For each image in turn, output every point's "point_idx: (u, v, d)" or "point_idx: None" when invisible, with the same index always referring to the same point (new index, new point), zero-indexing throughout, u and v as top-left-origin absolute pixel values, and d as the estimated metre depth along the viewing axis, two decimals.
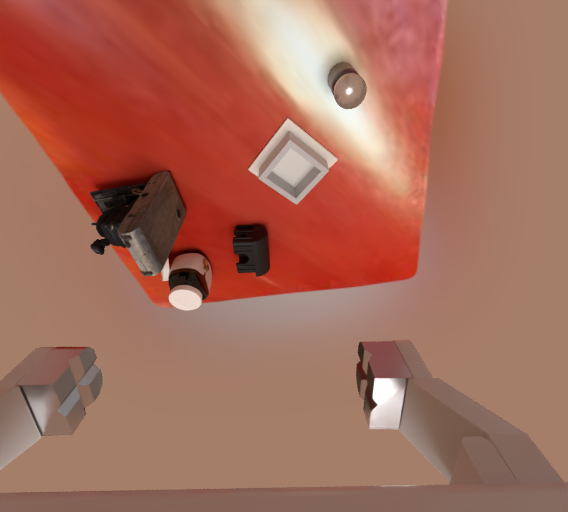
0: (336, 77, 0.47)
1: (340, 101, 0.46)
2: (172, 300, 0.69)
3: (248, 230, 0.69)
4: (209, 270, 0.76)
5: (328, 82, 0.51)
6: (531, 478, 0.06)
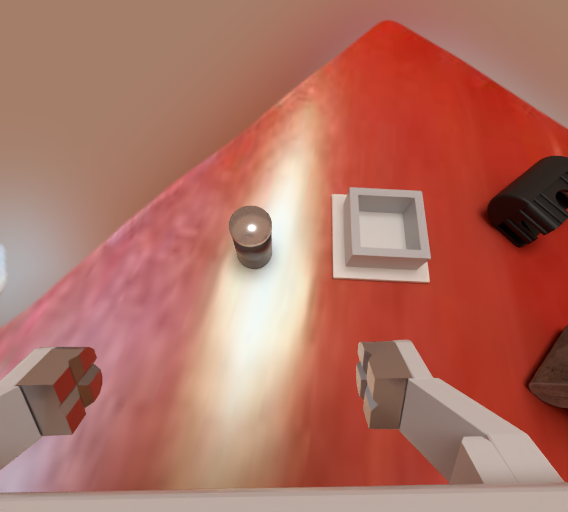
0: (250, 252, 0.36)
1: (266, 227, 0.34)
2: None
3: (511, 225, 0.41)
4: None
5: (267, 261, 0.40)
6: (531, 478, 0.06)
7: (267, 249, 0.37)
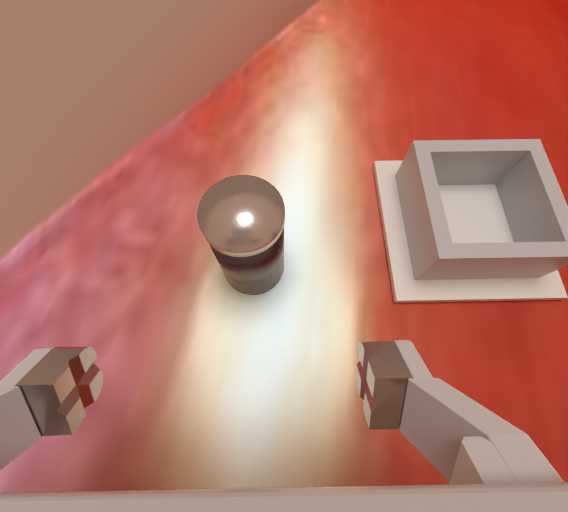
0: (246, 268, 0.18)
1: (275, 215, 0.17)
2: None
3: None
4: None
5: (276, 280, 0.23)
6: (531, 478, 0.06)
7: (277, 259, 0.20)
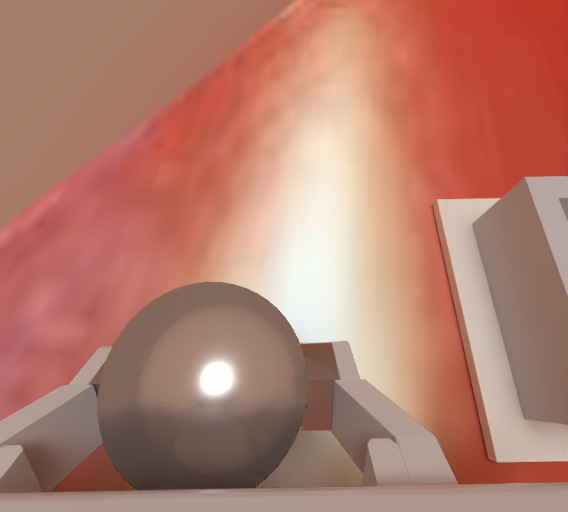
0: None
1: (284, 394, 0.07)
2: None
3: None
4: None
5: None
6: (427, 480, 0.06)
7: None
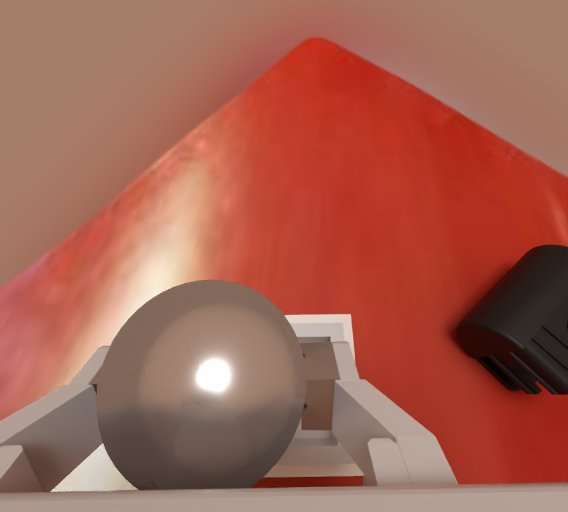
0: None
1: (284, 391, 0.07)
2: None
3: (496, 363, 0.25)
4: None
5: None
6: (426, 480, 0.06)
7: None
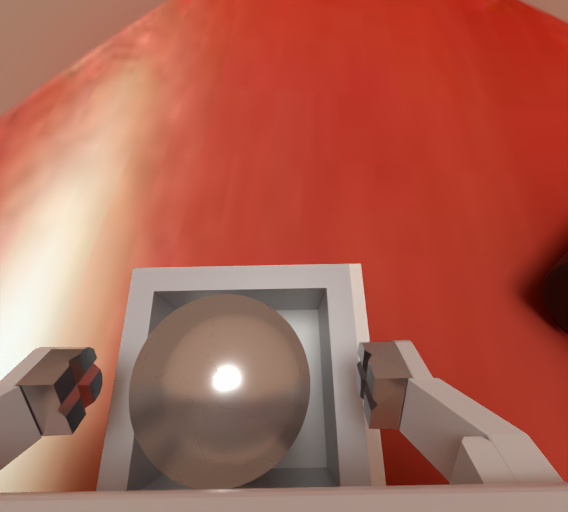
0: None
1: (290, 392, 0.08)
2: None
3: None
4: None
5: None
6: (531, 478, 0.06)
7: None
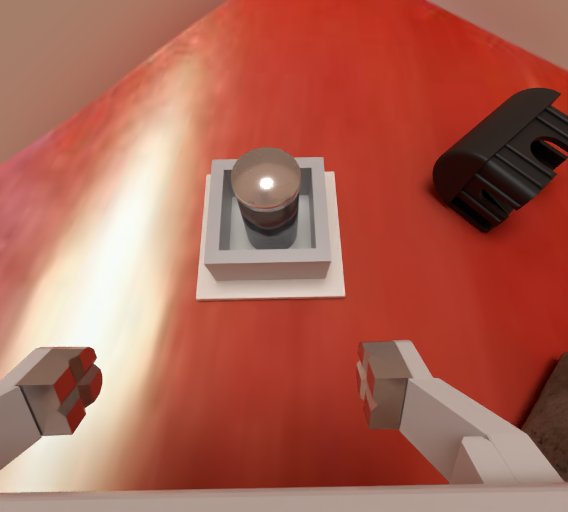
0: (269, 224, 0.22)
1: (293, 178, 0.21)
2: None
3: (468, 200, 0.27)
4: None
5: (292, 241, 0.27)
6: (531, 478, 0.06)
7: (293, 219, 0.24)
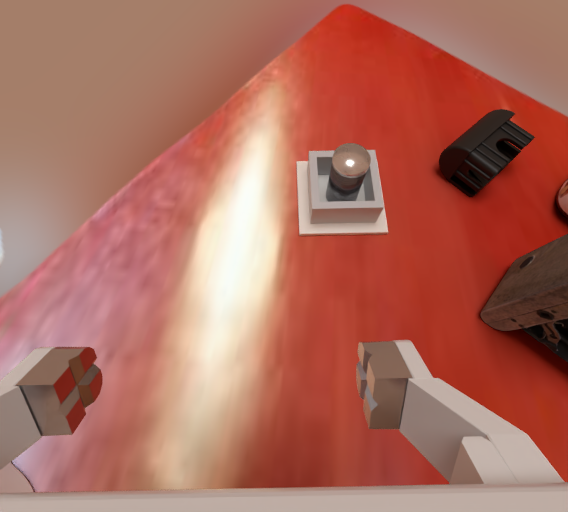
0: (350, 186, 0.40)
1: (366, 159, 0.38)
2: None
3: (461, 176, 0.45)
4: None
5: (355, 200, 0.45)
6: (531, 478, 0.06)
7: (361, 184, 0.41)
